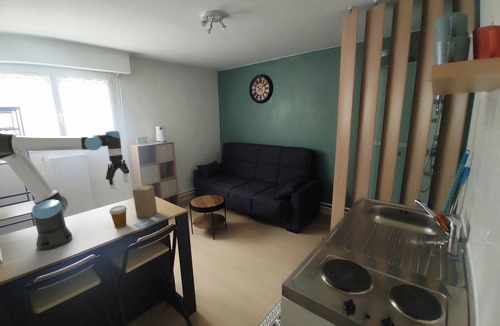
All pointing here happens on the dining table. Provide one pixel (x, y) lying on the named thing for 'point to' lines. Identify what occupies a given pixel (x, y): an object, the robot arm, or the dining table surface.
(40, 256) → the dining table surface
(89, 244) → the dining table surface
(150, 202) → the wooden block
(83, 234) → the dining table surface
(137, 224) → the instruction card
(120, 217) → the disposable coffee cup
